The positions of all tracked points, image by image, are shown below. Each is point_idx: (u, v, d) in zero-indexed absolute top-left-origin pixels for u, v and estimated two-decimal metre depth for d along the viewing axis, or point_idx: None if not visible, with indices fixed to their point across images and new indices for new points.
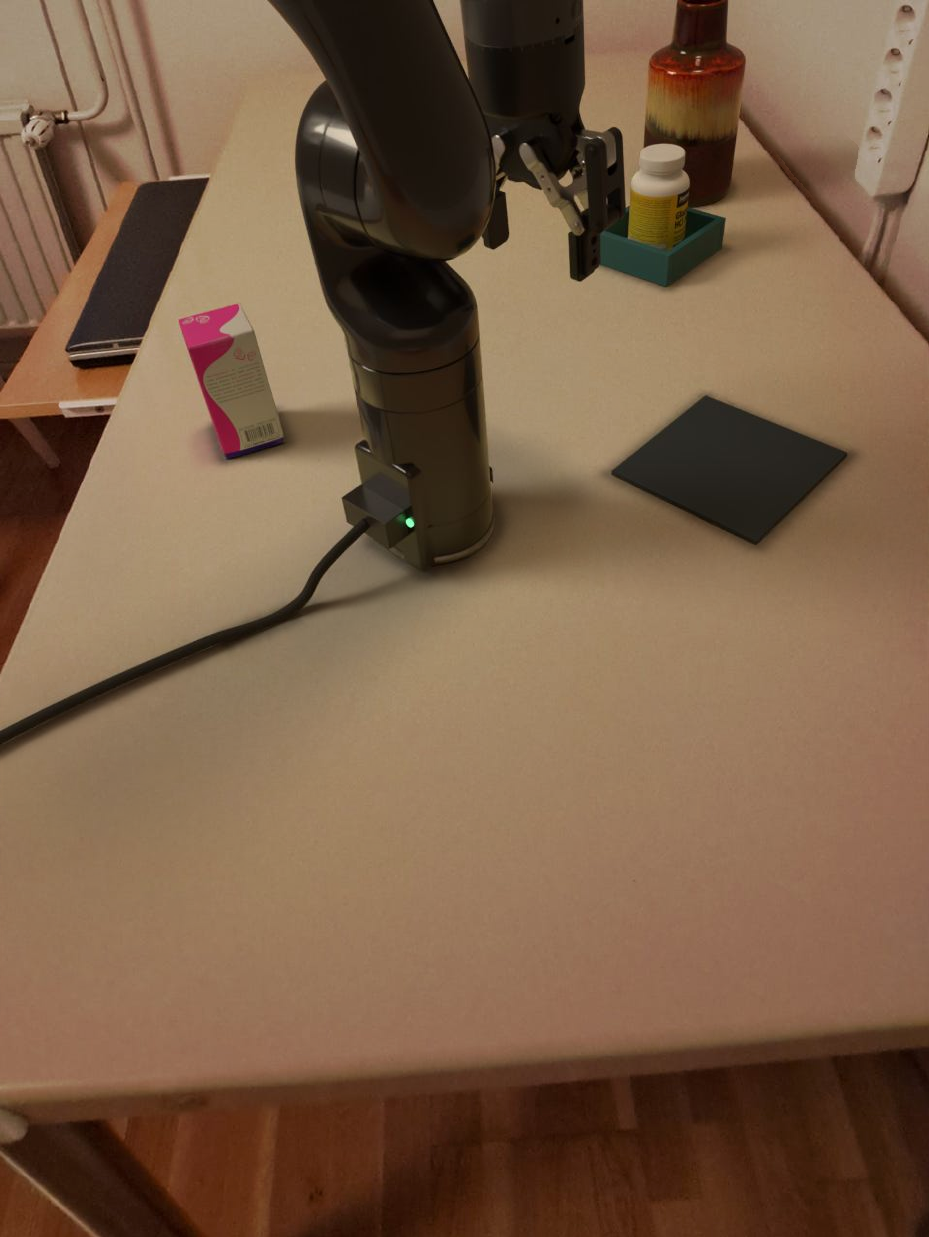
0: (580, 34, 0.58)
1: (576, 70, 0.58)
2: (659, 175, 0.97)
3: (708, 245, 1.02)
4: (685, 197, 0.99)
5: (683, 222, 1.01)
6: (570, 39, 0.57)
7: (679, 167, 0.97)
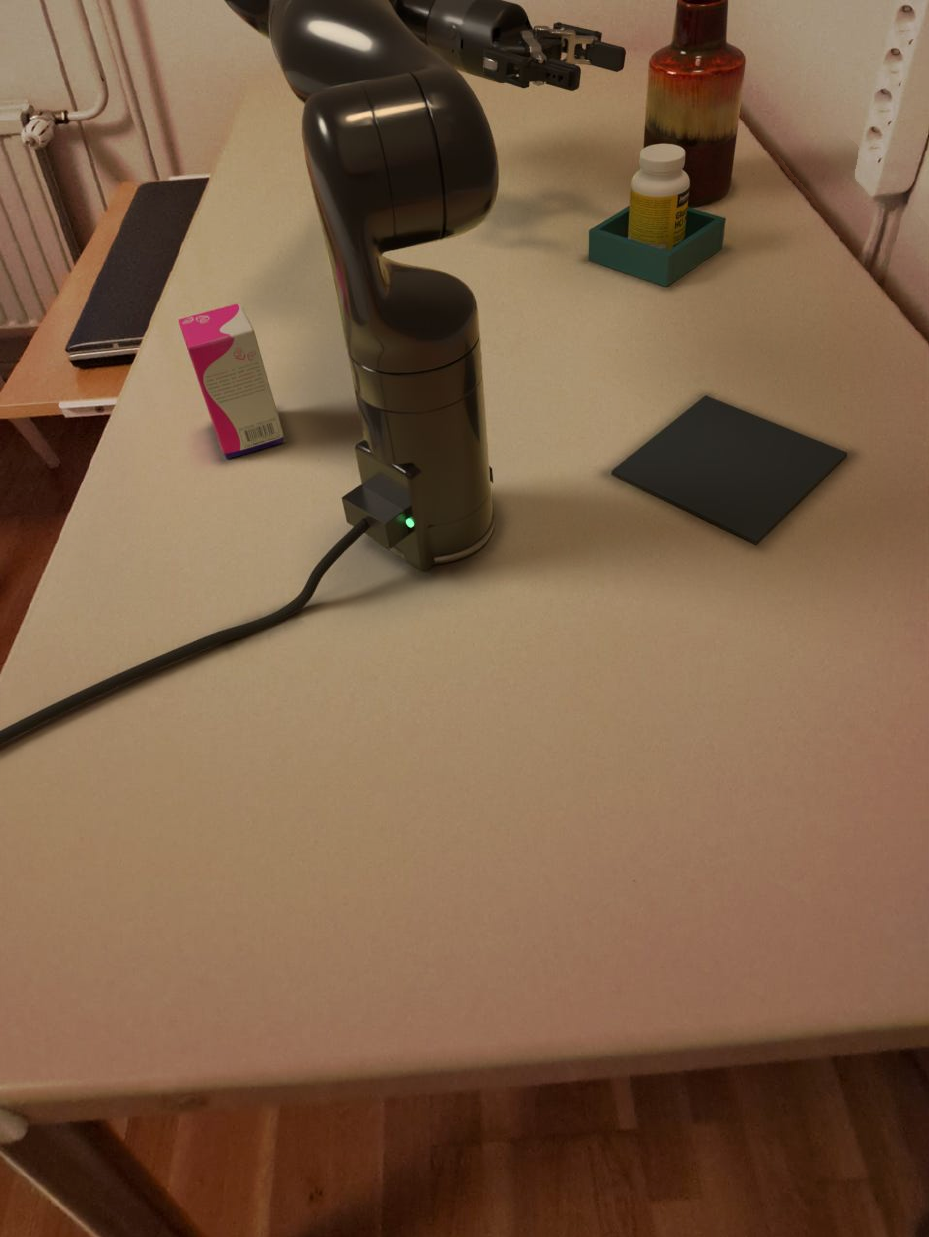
0: (465, 29, 1.00)
1: (476, 42, 1.00)
2: (659, 175, 0.97)
3: (708, 245, 1.02)
4: (685, 197, 0.99)
5: (683, 222, 1.01)
6: (464, 39, 1.01)
7: (679, 167, 0.97)
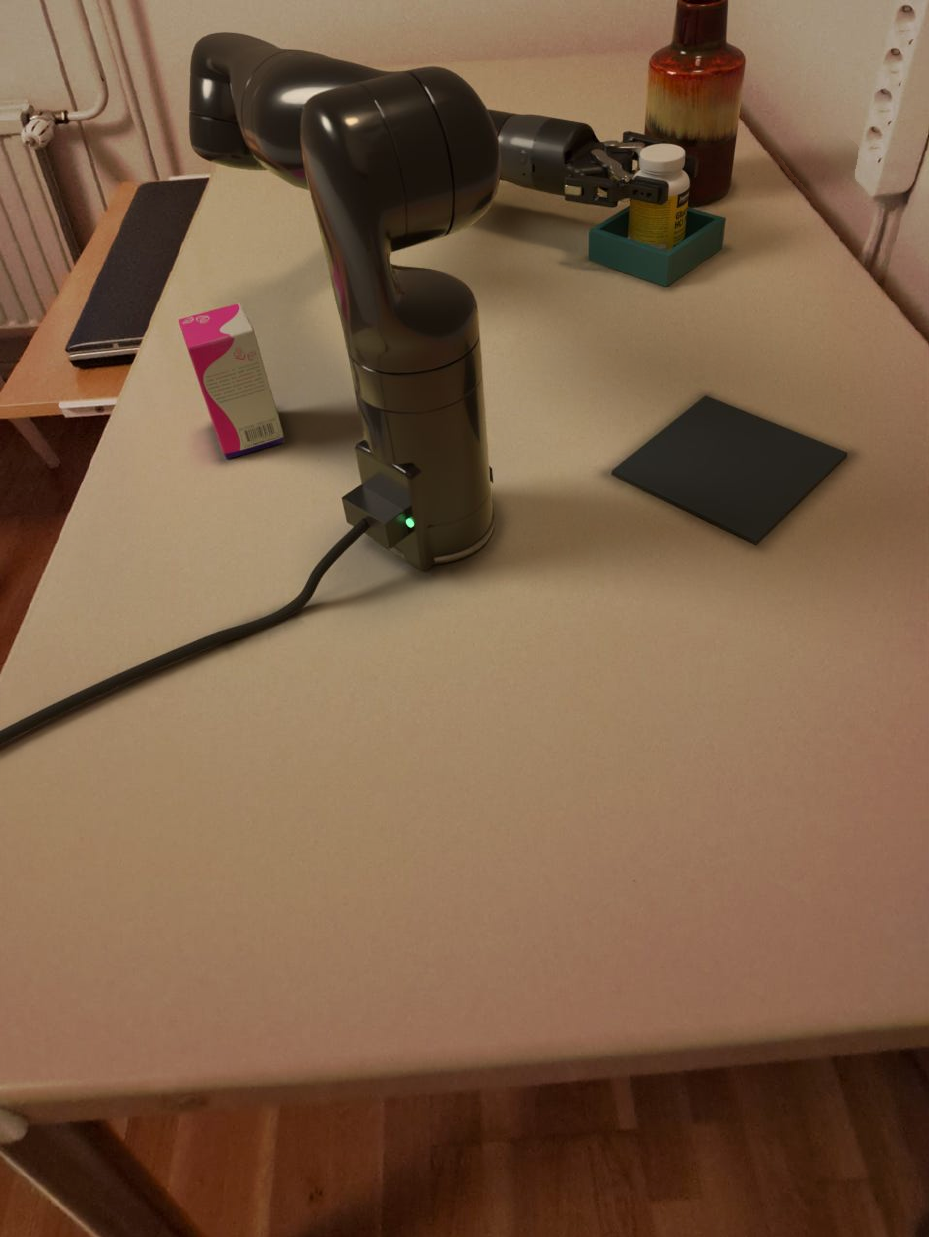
0: (536, 155, 1.02)
1: (548, 165, 1.02)
2: (659, 175, 0.97)
3: (708, 245, 1.02)
4: (685, 197, 0.99)
5: (683, 222, 1.01)
6: (536, 163, 1.03)
7: (679, 168, 0.97)
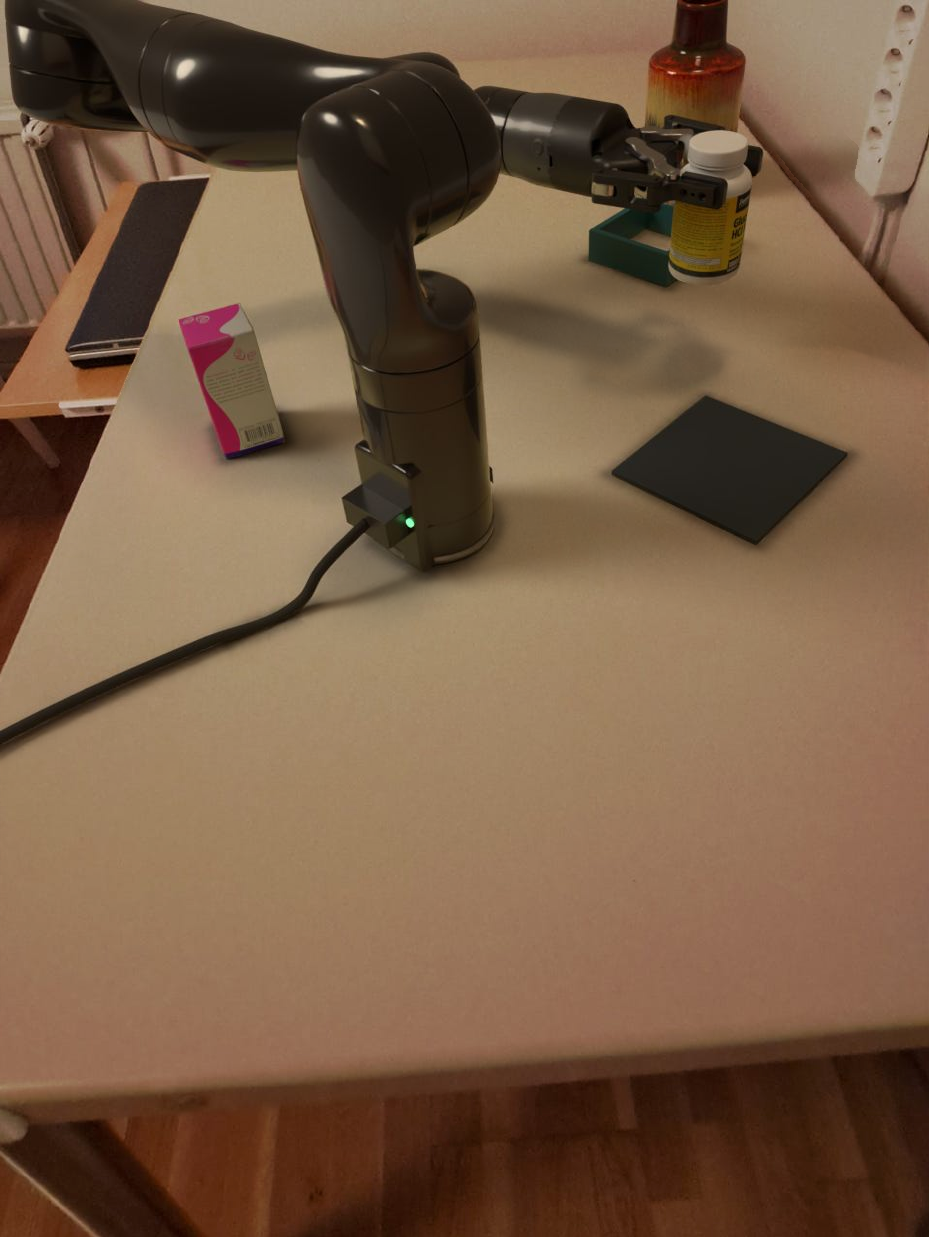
0: (554, 144, 0.80)
1: (570, 158, 0.80)
2: (714, 171, 0.75)
3: None
4: (747, 200, 0.77)
5: (742, 231, 0.79)
6: (554, 155, 0.81)
7: (740, 161, 0.75)
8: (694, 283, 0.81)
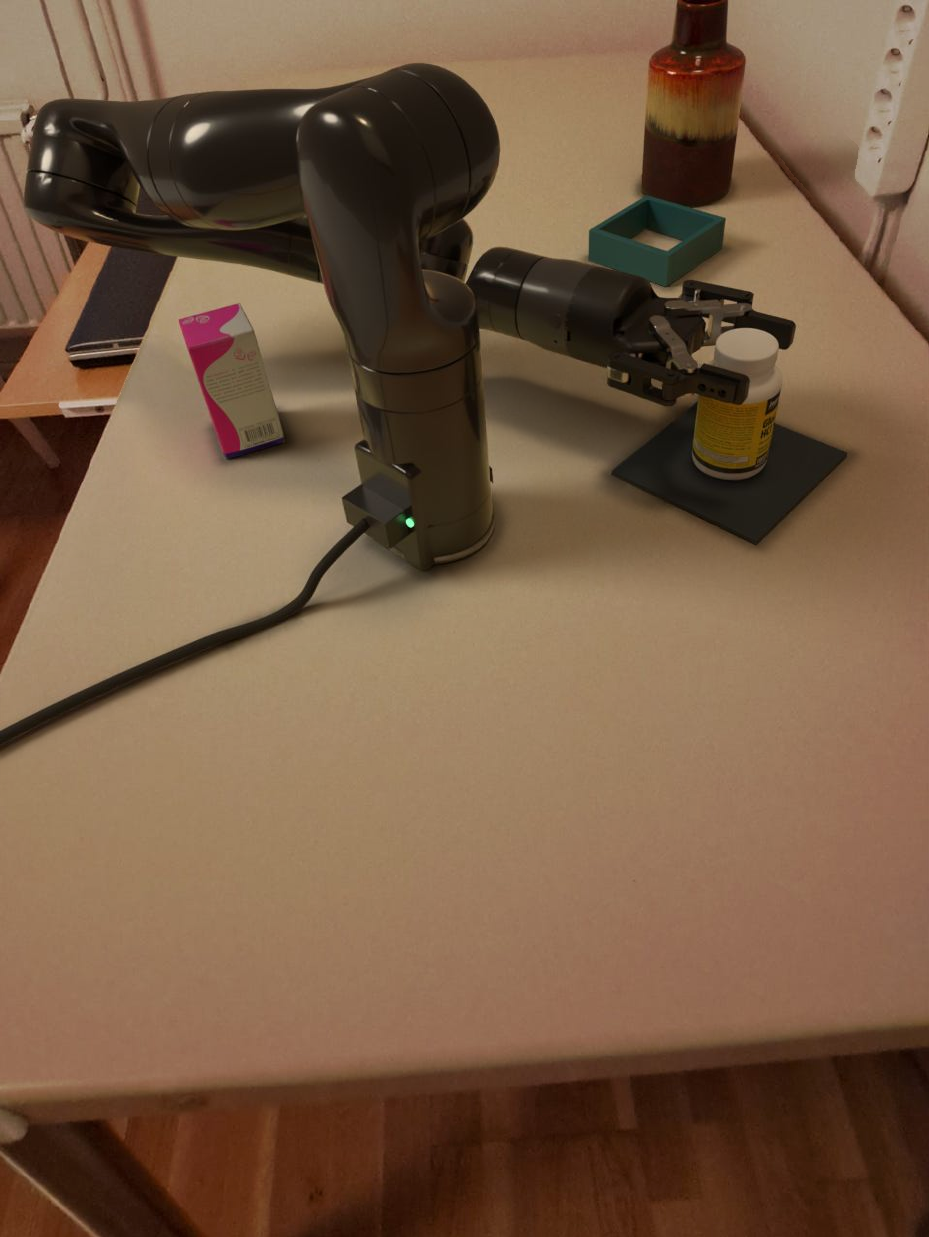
0: (572, 319, 0.75)
1: (589, 335, 0.74)
2: None
3: (708, 245, 1.02)
4: (777, 401, 0.73)
5: (771, 429, 0.75)
6: (572, 330, 0.75)
7: (771, 366, 0.71)
8: (720, 478, 0.77)
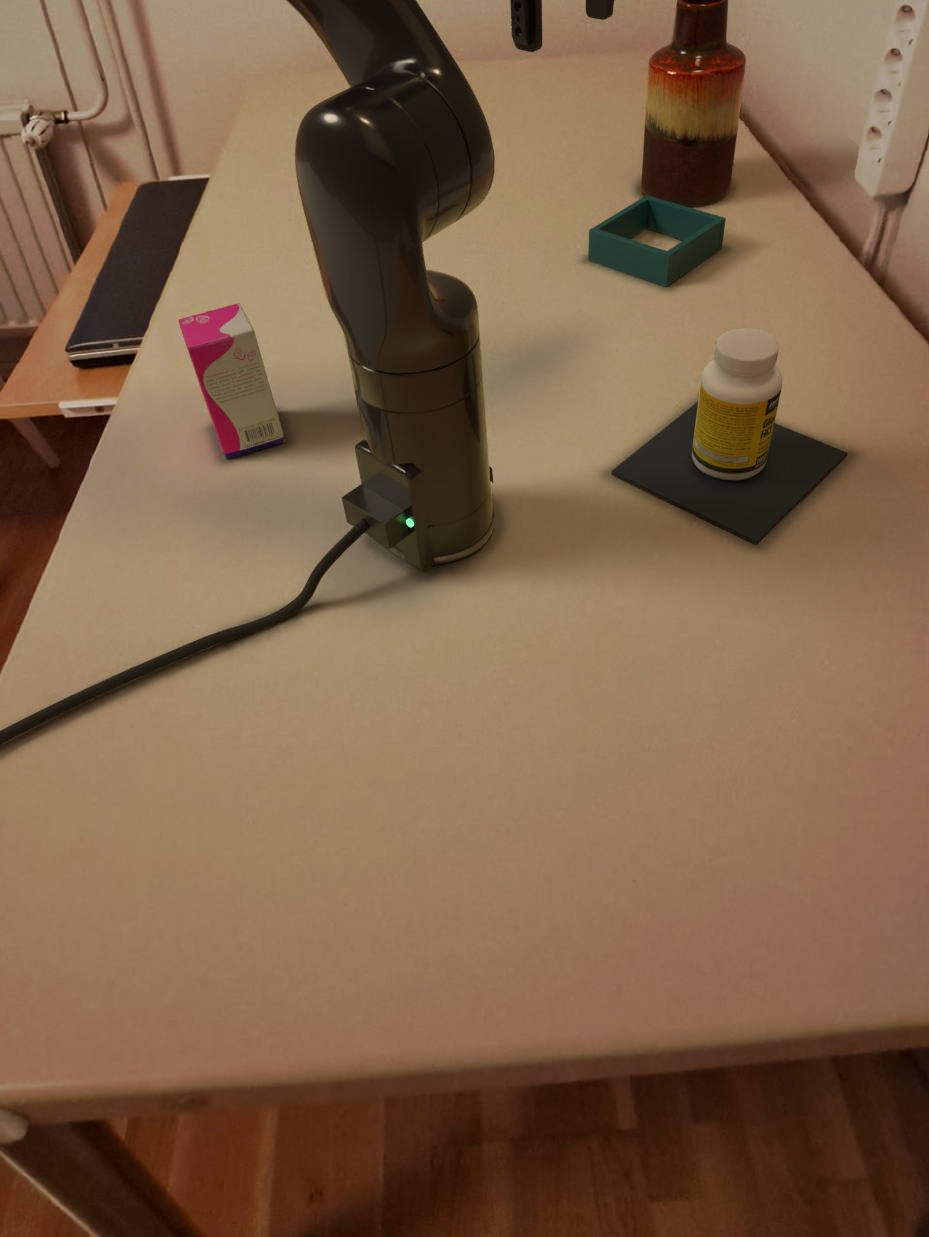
0: None
1: None
2: (743, 376, 0.71)
3: (708, 245, 1.02)
4: (777, 401, 0.73)
5: (771, 429, 0.75)
6: None
7: (771, 366, 0.71)
8: (720, 478, 0.77)
